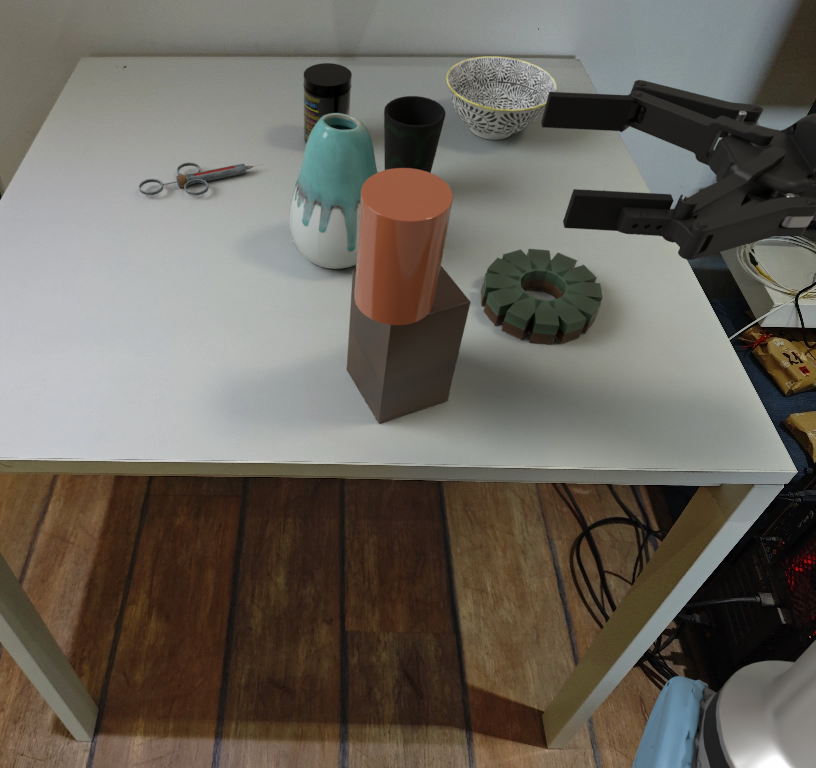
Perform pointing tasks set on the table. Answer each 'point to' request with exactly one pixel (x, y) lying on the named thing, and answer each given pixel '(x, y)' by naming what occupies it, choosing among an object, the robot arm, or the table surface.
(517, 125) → the bowl
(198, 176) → the syringe
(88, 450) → the table surface
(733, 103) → the robot arm
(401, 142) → the cup
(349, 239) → the vase
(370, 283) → the orange glossy cylinder
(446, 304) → the dark brown rectangular block
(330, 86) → the supplement container
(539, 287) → the segmented green ring
